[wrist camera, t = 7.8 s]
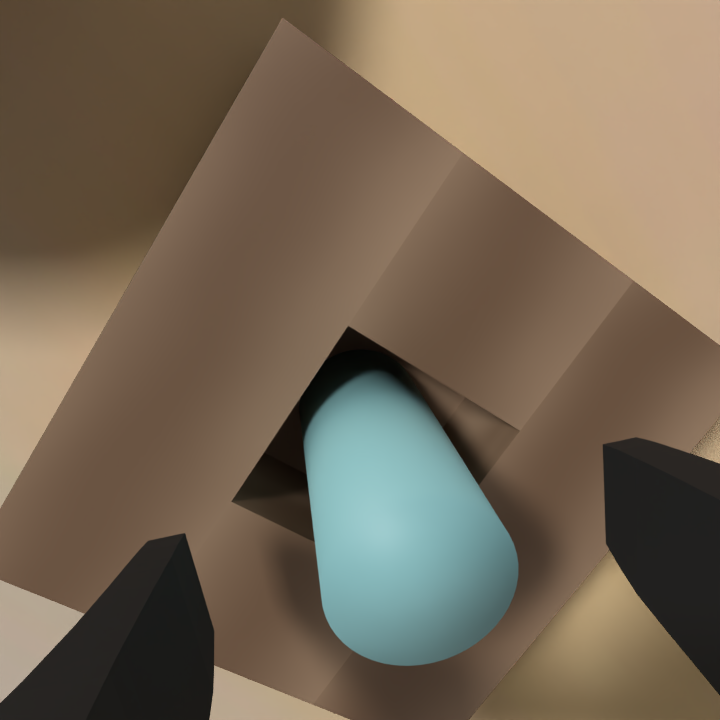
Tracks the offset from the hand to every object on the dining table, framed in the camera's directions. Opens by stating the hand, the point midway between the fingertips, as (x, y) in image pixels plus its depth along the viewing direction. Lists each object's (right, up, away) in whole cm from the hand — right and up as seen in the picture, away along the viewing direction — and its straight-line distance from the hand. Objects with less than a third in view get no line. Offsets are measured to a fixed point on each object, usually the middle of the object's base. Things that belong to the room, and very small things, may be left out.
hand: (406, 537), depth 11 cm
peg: (-1, +2, +5) cm, 6 cm away
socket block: (-1, +2, +6) cm, 7 cm away
